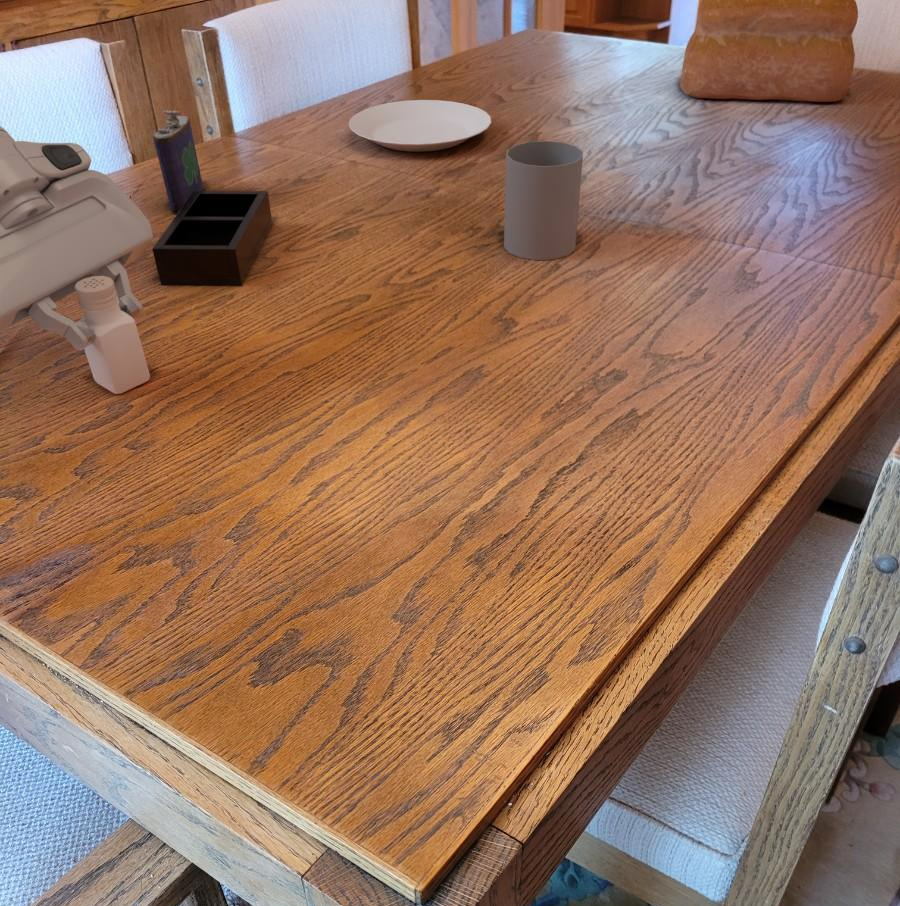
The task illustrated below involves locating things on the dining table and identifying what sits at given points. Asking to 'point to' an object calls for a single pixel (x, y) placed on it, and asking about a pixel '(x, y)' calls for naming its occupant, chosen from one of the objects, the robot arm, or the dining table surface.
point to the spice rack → (213, 238)
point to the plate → (420, 124)
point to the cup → (542, 199)
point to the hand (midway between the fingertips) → (112, 329)
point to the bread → (771, 50)
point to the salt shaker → (111, 337)
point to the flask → (178, 160)
